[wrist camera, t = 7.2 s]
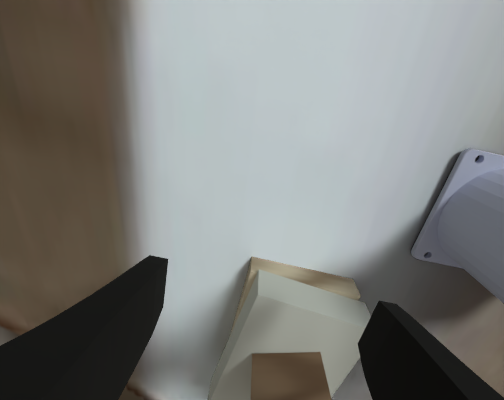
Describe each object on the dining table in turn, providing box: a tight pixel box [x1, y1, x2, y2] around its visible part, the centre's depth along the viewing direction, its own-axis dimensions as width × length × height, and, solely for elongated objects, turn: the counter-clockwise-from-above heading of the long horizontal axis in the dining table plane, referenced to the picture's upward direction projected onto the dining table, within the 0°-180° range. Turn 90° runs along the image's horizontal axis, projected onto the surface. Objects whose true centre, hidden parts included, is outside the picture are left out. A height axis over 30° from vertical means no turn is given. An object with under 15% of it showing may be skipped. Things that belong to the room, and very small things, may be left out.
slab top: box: [208, 269, 371, 400], centre depth 19 cm, size 8×12×2 cm, turn 161°
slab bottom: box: [230, 257, 361, 335], centre depth 22 cm, size 8×12×2 cm, turn 167°
